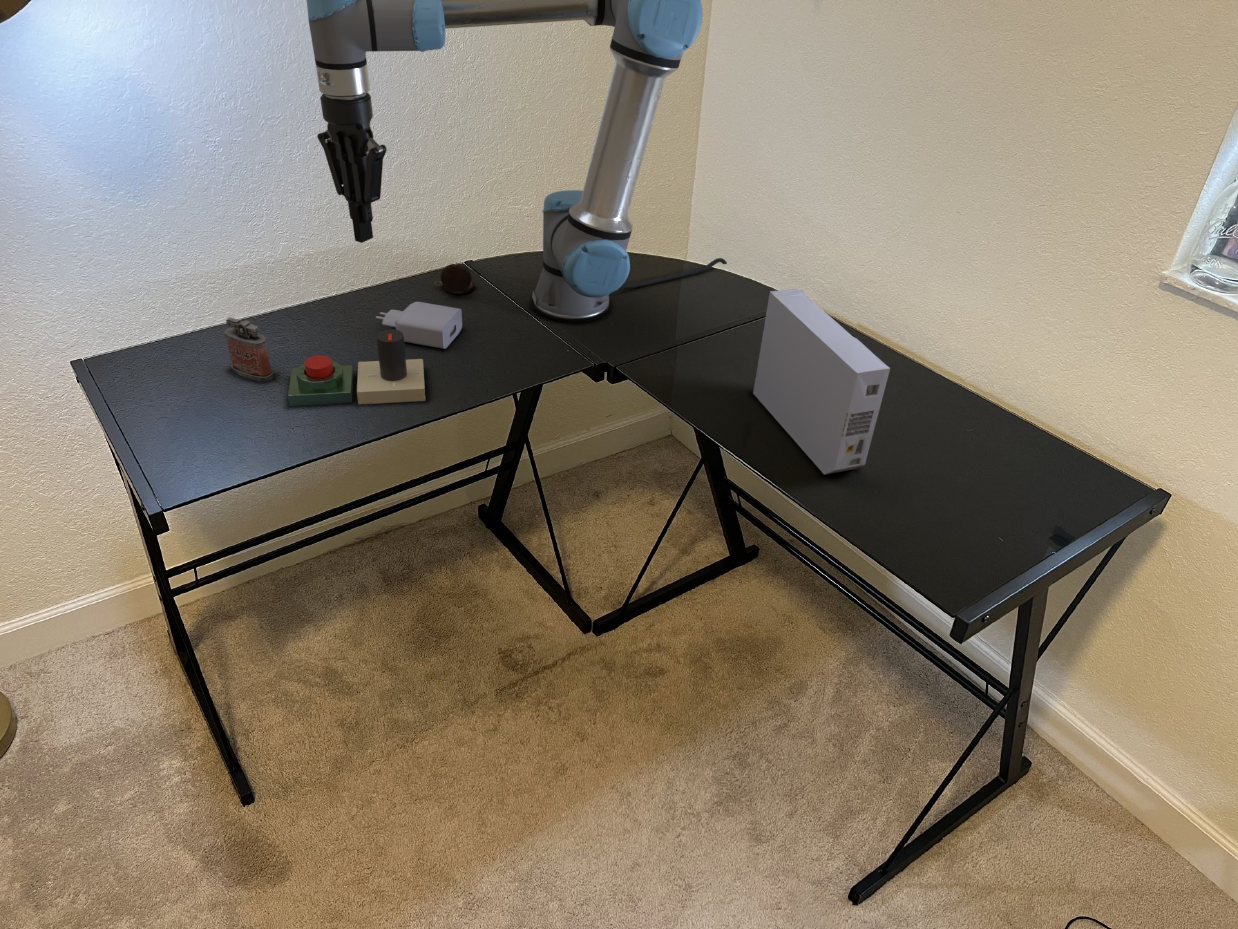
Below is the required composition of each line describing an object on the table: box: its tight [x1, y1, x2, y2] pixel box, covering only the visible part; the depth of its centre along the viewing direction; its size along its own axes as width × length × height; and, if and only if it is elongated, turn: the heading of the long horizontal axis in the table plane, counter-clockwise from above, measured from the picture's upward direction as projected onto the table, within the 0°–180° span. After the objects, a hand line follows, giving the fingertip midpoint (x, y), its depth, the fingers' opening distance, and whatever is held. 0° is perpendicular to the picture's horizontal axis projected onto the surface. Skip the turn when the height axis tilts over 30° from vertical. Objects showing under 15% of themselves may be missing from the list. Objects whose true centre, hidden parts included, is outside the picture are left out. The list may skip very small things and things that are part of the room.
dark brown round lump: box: [434, 261, 475, 295], centre depth 192 cm, size 8×8×7 cm
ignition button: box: [304, 355, 333, 379], centre depth 157 cm, size 4×4×2 cm
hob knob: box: [375, 328, 407, 381], centre depth 159 cm, size 4×4×8 cm
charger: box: [375, 301, 463, 350], centre depth 177 cm, size 5×9×15 cm
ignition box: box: [287, 360, 355, 408], centre depth 159 cm, size 10×9×4 cm
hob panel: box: [356, 358, 426, 405], centre depth 162 cm, size 11×10×3 cm
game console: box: [752, 288, 891, 475], centre depth 152 cm, size 6×27×20 cm, turn 20°
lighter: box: [223, 316, 274, 382], centre depth 160 cm, size 8×3×10 cm, turn 65°
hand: (364, 239), depth 158 cm, fingers closed
